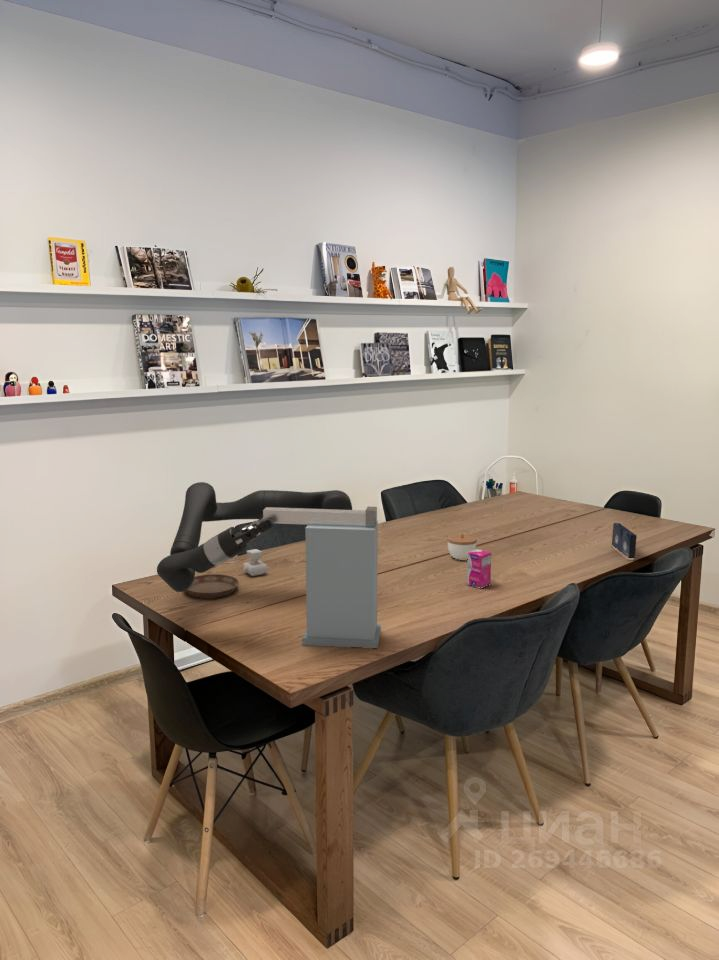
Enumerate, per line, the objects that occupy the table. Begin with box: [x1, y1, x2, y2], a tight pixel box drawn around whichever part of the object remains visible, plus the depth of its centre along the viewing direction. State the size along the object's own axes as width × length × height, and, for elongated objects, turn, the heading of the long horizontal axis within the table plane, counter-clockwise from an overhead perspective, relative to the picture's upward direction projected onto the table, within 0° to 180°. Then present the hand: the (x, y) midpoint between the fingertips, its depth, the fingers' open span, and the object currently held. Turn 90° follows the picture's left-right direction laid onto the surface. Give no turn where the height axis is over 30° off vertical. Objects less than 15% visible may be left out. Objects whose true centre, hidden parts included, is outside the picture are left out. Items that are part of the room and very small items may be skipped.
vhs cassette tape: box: [611, 522, 638, 558], centre depth 282 cm, size 18×3×10 cm, turn 179°
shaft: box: [263, 506, 378, 527], centre depth 197 cm, size 30×4×4 cm, turn 82°
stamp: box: [242, 548, 269, 577], centre depth 256 cm, size 9×7×8 cm
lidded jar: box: [446, 533, 478, 559], centre depth 276 cm, size 11×11×9 cm
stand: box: [301, 520, 382, 649], centre depth 200 cm, size 20×12×32 cm, turn 84°
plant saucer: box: [185, 573, 240, 599], centre depth 240 cm, size 18×18×3 cm
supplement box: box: [466, 548, 492, 588], centre depth 245 cm, size 6×6×12 cm
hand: (274, 518), depth 199 cm, fingers open, 8 cm apart
